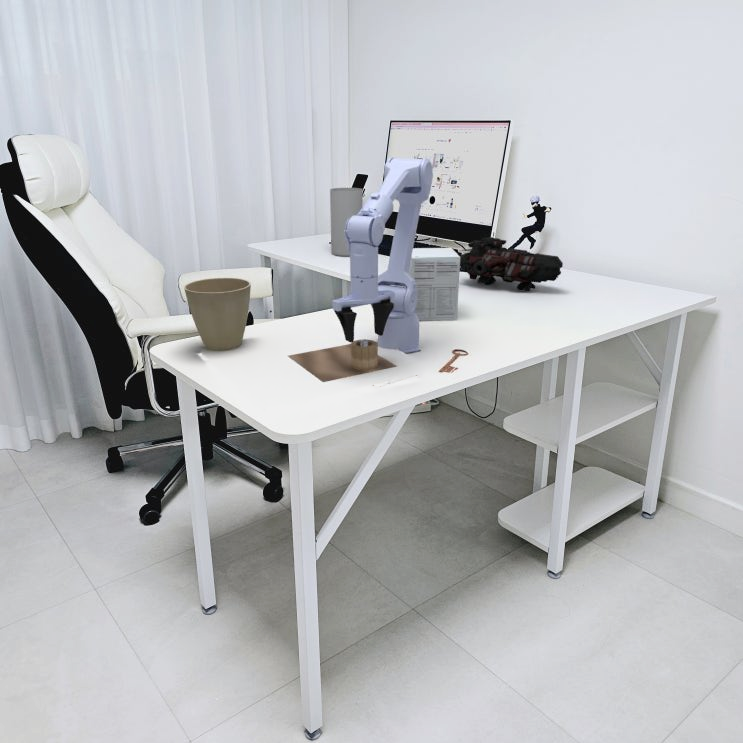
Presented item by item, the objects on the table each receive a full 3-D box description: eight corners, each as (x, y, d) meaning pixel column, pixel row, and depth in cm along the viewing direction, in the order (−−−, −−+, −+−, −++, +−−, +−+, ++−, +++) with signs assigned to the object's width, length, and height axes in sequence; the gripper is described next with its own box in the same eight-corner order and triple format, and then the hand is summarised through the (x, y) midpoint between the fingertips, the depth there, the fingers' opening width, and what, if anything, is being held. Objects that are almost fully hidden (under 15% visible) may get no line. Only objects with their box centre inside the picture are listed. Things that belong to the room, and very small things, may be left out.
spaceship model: (545, 302, 197) (550, 252, 191) (451, 285, 215) (453, 239, 210) (570, 289, 211) (575, 242, 206) (480, 275, 229) (482, 231, 224)
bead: (367, 359, 147) (367, 337, 145) (382, 366, 142) (382, 344, 140) (346, 364, 144) (346, 342, 142) (360, 372, 139) (360, 349, 137)
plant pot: (264, 342, 162) (260, 278, 156) (239, 363, 148) (234, 294, 142) (208, 338, 165) (202, 275, 159) (179, 358, 151) (171, 290, 145)
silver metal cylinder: (365, 363, 144) (365, 337, 142) (369, 365, 143) (369, 339, 140) (359, 364, 143) (359, 338, 141) (363, 367, 142) (362, 340, 140)
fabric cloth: (357, 348, 158) (356, 342, 157) (397, 372, 143) (397, 366, 143) (287, 362, 149) (287, 355, 148) (323, 388, 135) (323, 382, 134)
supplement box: (458, 320, 179) (461, 256, 173) (409, 321, 178) (411, 257, 172) (449, 307, 191) (452, 247, 185) (404, 308, 190) (405, 247, 184)
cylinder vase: (350, 258, 255) (350, 191, 246) (325, 254, 261) (323, 189, 252) (368, 253, 265) (368, 188, 256) (343, 249, 271) (342, 187, 262)
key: (456, 378, 142) (477, 356, 155) (457, 374, 142) (478, 352, 154) (431, 372, 144) (454, 350, 157) (432, 368, 144) (454, 346, 157)
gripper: (381, 267, 143) (380, 326, 148) (323, 276, 135) (325, 339, 140) (401, 273, 137) (400, 335, 142) (342, 283, 129) (343, 348, 134)
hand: (364, 337), depth 141 cm, fingers open, 7 cm apart
